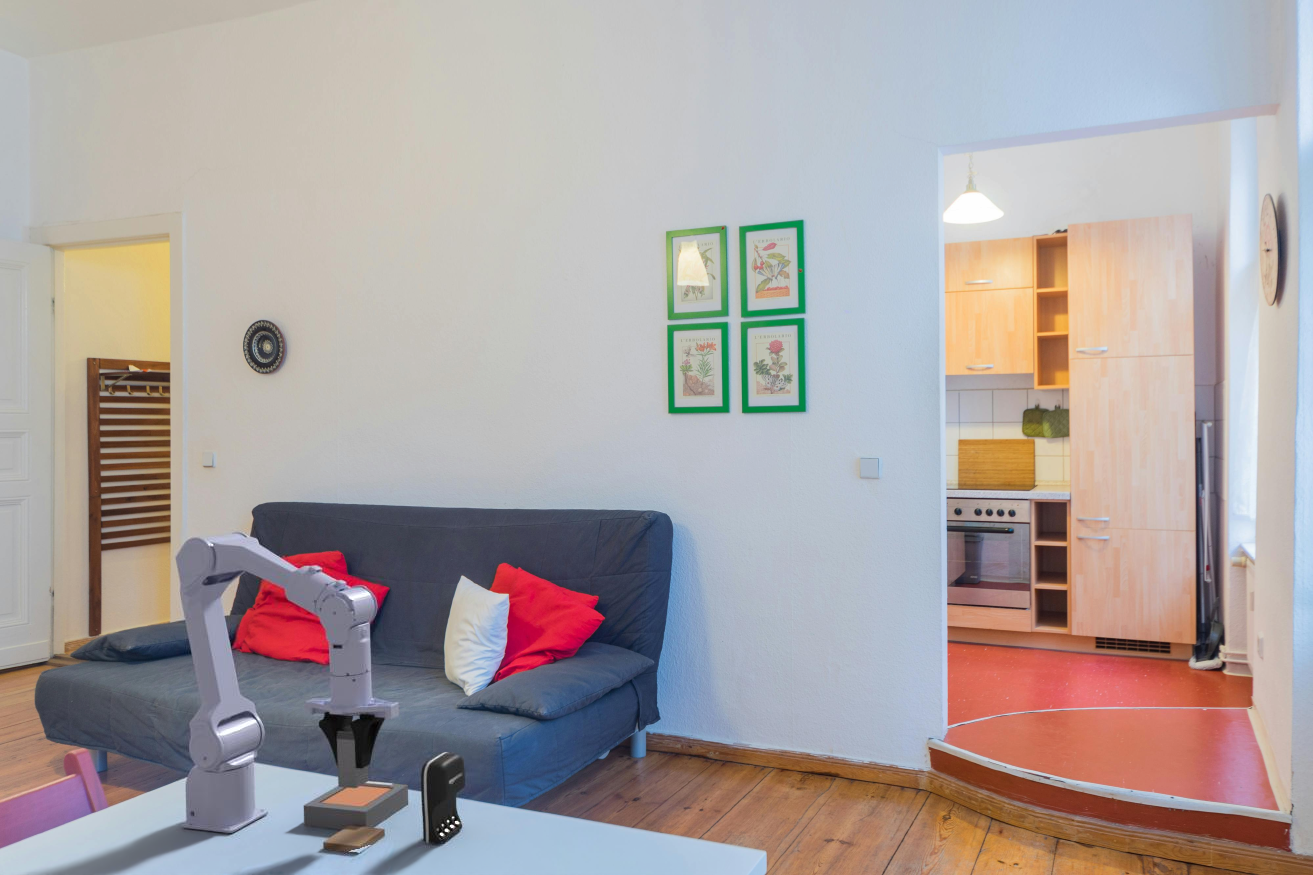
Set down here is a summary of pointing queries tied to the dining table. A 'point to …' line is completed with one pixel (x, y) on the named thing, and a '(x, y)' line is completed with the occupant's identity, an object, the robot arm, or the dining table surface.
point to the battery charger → (441, 796)
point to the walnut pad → (353, 838)
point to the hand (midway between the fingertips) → (353, 765)
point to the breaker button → (357, 796)
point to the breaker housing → (356, 808)
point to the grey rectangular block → (349, 761)
